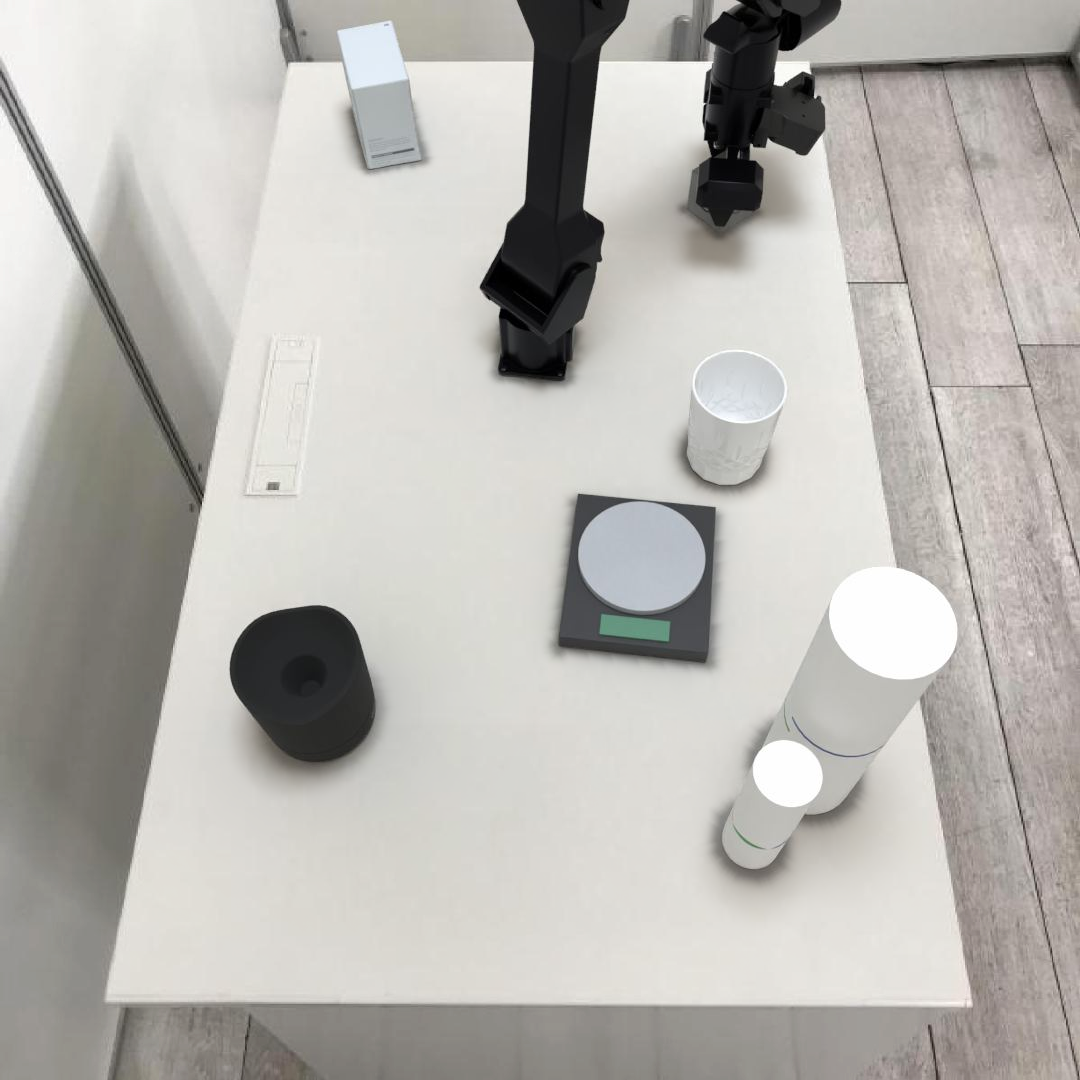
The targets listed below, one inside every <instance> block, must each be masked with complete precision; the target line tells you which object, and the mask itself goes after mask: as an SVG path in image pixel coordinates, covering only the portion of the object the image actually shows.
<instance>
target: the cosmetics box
mask: <svg viewBox="0 0 1080 1080" xmlns="http://www.w3.org/2000/svg"><path fill="white" fill-rule="evenodd" d="M336 32H337V39H338V47H339V52H340V58H341V62H342V63H341V64H342V68H343V73H344V77H345V82H346V87H347V91H348V92H347V93H348V95H349V100H350V104H351V109H352V113H353V117H354V121H355V125H356V126H355V127H356V130H357V134H358V138H359V143H360V146H361V150H362V153H363V157H364V160H365V165H366V168H367V169H368V170H373V169H380V168H384V167H388V166H395V165H400V164H406V163H411V162H418V161H422V159H423V157H422V153H421V148H420V142H419V137H418V131H417V125H416V118H415V112H414V105H413V97H412V89H411V82H410V77H409V74H408V71H407V68H406V65H405V60H404V58H403V55H402V50H401V48H400V44H399V39H398V37H397V34H396V30H395V25H394V23H393V21H392V20H391V19H390V20H386V21H380V22H374V23H369V24H364V25H358V26H353V27H348V28H342V29H338V30H337V31H336Z"/></svg>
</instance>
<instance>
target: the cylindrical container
mask: <svg viewBox="0 0 1080 1080" xmlns="http://www.w3.org/2000/svg"><path fill="white" fill-rule="evenodd" d="M957 640H958V624H957V619H956V615H955V613H954V610H953V608H952V605H951V604H950V602H949V601H948V600H947V598H946V597H945V595H944V594H943V593H942V592H941V591H940V590H939V588H937V587H936V586H935V585H934V584H932V583H931V582H930V581H928V580H927V578H925V577H923V576H920V575H918V574H917V573H914V572H913V571H909V570H907V569H903V568H900V567H899V568H898V567H893V566H873V567H868V568H864V569H861V570H859V571H856V572H854V573H852V574H851V575H848V577H846V578H845V579H844V580H843V581H842V582H841V583H840V584H839V585H838V587H836V590H835V591H834V592H833V594H832V597H831V599H830V601H829V603H828V605H827V608H826V609H825V612H824V613H823V616H822V618H821V620H820V623H819V625H818V627H817V629H816V631H815V633H814V636H813V637H812V639H811V641H810V644H809V646H808V648H807V651H806V652H805V655H804V656H803V659H802V661H801V663H800V666H799V667H798V669H797V671H796V674H795V675H794V679H793V681H792V682H791V684H790V687H789V689H788V691H787V693H786V695H785V698H784V700H783V702H782V703H781V706H780V708H779V710H778V712H777V714H776V717H775V718H774V721H773V723H772V725H771V727H770V729H769V732H768V734H767V736H766V738H765V739H764V742H763V744H762V747H761V749H762V748H763V747H765V746H766V745H768V744H769V743H772V742H775V741H780V740H788V741H794V742H796V743H799V744H801V745H803V746H805V747H806V748H808V749H809V750H810V751H811V752H812V753H813V754H814V755H815V757H816V758H817V760H818V761H819V763H820V766H821V769H822V775H823V779H822V785H821V789H820V791H819V792H818V794H817V796H816V797H815V799H814V800H813V802H812V803H811V805H810V806H809V808H808V810H807V811H806V813H805V814H804V815H820V814H824V813H825V814H826V813H827V812H829V811H832V810H834V809H835V808H837V807H838V806H840V805H841V804H842V803H843V802H844V800H845V799H847V797H848V795H849V794H850V793H851V792H852V790H853V789H854V787H855V786H856V785H857V783H858V782H859V781H860V779H861V778H862V777H863V776H864V774H865V772H867V770H868V768H869V767H870V765H872V764H873V762H874V761H875V759H876V758H877V756H878V755H879V754H880V753H881V751H882V750H883V748H884V747H885V746H886V745H887V743H888V742H889V740H890V739H891V737H892V736H893V735H894V734H895V732H896V731H897V730H898V728H899V727H900V726H901V724H902V723H903V721H904V720H905V719H906V717H907V716H908V714H909V713H910V712H911V710H912V709H913V708H914V707H915V705H916V704H917V702H919V699H921V697H922V696H923V695H924V693H925V692H926V691H927V689H928V687H929V686H930V685H931V684H932V683H933V681H934V680H935V679H936V677H937V676H938V674H939V673H940V671H941V670H942V669H943V668H944V666H945V665H946V664H947V662H948V661H949V659H950V658H951V656H952V654H953V653H954V651H955V649H956V645H957Z"/></svg>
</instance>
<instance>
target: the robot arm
mask: <svg viewBox="0 0 1080 1080" xmlns="http://www.w3.org/2000/svg"><path fill="white" fill-rule="evenodd" d="M630 1H631V0H516V3H517V5H518V7H519V10H520V12H521V15H522V18H523V20H524V23H525V24H526V27H527V28H528V32H529V34H530V37H531V39H532V42H533V56H532V57H533V58H532V59H533V60H532V76H531V92H530V93H531V94H530V109H529V127H528V144H527V160H526V176H525V177H526V179H525V193H524V194H525V195H524V203H523V205H522V206H521V207H520V208H519V209H518V210H517V211H516V212H515V213H514V214H513V216H512V217H511V218H510V219H508V221H507V223H506V226H505V231H504V237H503V242H502V244H501V246H500V247H499V248H498V251H497V253H496V255H495V256H494V259H493V260H492V262H491V264H490V266H489V268H488V269H487V271H486V273H485V275H484V277H483V279H482V280H481V282H480V284H479V287H478V288H479V290H480V291H481V293H482V295H483V297H484V298H485V299H487V300H488V301H490V302H492V303H494V304H495V305H496V306H497V307H499V313H498V328H499V329H498V331H499V342H500V343H499V344H500V355H499V361H498V365H497V373H498V374H499V375H500V376H508V377H519V378H530V379H531V378H532V379H543V380H552V381H553V380H554V381H563V380H565V378H566V376H567V369H568V363H571V362H572V361H573V358H574V350H575V343H576V325H577V324H578V323H580V322H581V321H582V320H584V318H585V315H586V312H587V308H588V305H589V301H590V299H591V295H592V292H593V288H594V285H595V283H596V279H597V270H598V263H601V262H602V261H603V257H602V256H603V255H602V245H603V241H604V238H605V233H606V232H605V231H606V230H605V225H604V222H603V221H602V220H600V219H598V218H597V217H595V216H594V214H592V213H590V212H589V211H587V210H585V209H584V203H585V202H584V201H585V193H586V184H587V175H588V165H589V158H590V157H589V156H590V149H591V148H590V147H591V141H592V130H593V123H594V113H595V103H596V95H597V85H598V78H599V76H598V75H599V68H600V58H601V53H602V48H603V46H604V45H605V43H606V42H607V41H608V40H609V39H610V38H611V37H612V36H613V34H614V33H615V32H616V31H617V29H618V28H620V27H619V26H621V24H623V22H624V21H625V19H626V18H627V14H628V9H629V4H630ZM735 1H736V2H738V4H735V5H734V6H732V7H731V8H729V9H727V11H726V10H724V11H721V13H720V15H719V17H718V18H717V19H716V20H715V21H712V23H710V24H709V25H708V26H707V28H706V29H705V31H704V32H703V35H702V39H704V40H705V41H707V42H708V43H710V44H712V45H714V53H713V61H712V63H711V68H709V69H708V70H707V71H706V72H705V78H704V87H703V98H702V103H703V106H702V116H701V117H702V119H701V121H702V126H703V142H706V143H707V146H708V151H709V154H710V157H708V158H706V159H705V160H703V161H702V162H700V163H699V164H698V166H699V170H698V179H697V189H696V202H695V203H696V204H697V205H699V206H700V207H702V208H708V211H709V213H710V216H711V218H712V220H713V223H714V225H715V226H718V227H725V226H726V224H727V223H728V221H729V219H730V217H731V215H732V214H733V212H734V210H742V211H754V212H756V211H757V210H759V209H760V208H761V205H762V200H763V195H764V181H765V179H764V178H765V177H764V176H765V168H764V167H763V166H762V165H761V164H760V163H759V162H758V161H757V160H756V159H751V145H752V148H755V149H766V148H767V144H768V140H769V141H770V142H771V143H773V144H776V145H777V146H780V147H784V148H785V149H788V150H790V151H793V152H795V154H796V155H798V156H803V157H805V156H807V155H808V154H809V153H810V152H811V150H812V149H813V148H814V147H815V146H816V144H817V142H818V141H819V139H820V137H821V136H822V135H823V134H824V133H825V131H826V106H825V105H824V103H823V102H822V96H821V95H818V94H817V95H816V97H815V94H816V77H815V75H813V74H811V73H808V72H806V71H804V70H803V71H801V72H799V73H797V74H796V75H794V76H793V77H791V78H789V79H788V80H787V81H784V83H783V84H782V85H778V84H775V81H776V71H775V70H776V65H777V60H778V55H779V51H780V52H790V51H791V52H792V51H794V50H795V49H796V48H799V46H801V45H802V44H804V43H805V42H806V41H808V40H809V39H810V38H812V37H813V36H815V35H816V34H817V33H819V32H820V31H822V30H823V29H825V28H826V27H827V26H828V25H830V24H832V22H835V20H836V19H837V17H838V16H839V13H840V11H841V9H842V0H735ZM724 151H726V158H715V156H717V155H719V154H720V153H722V152H724ZM738 158H739V159H738Z"/></svg>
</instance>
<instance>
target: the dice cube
mask: <svg viewBox="0 0 1080 1080" xmlns="http://www.w3.org/2000/svg"><path fill="white" fill-rule="evenodd" d="M715 158H726V151H724V152H722V153H720V154H719V155H717V156H715ZM738 159H739V157H738ZM698 170H699V165H698V166H696V167H695V168H693V169H692V170H691V175H690V181H689V188H688V189H689V190H688V197H687V204H686V209H687V210H688V211H690V213H692V214H693V215H695V216H696V217H697V218H698V219H700V220H701V221H702V222H703V223H704V224H706V225H707V226H709V227H710V228H711V229H713V230H714V231H715V232H716V233H718V234H719V235H720V234H721V233H724V232H725V231H726V230H728V229H729V228H731V227H733V226H735V225H736V224H738V223H739V222H741V221H742V220H744V219H745V218H747V217H749V216H751V215H752V214H753V213H754V212H755V211H742V210H734V212H733V214H732V215H731V217H730V219H729V221H728V223H727V224H726V226H725V227H718V226H715V225H714V223H713V220H712V218H711V216H710V213H709V211H708V208H702V207H700V206H699V205H697V204H696V203H695V202H696V189H697V179H698Z"/></svg>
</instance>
